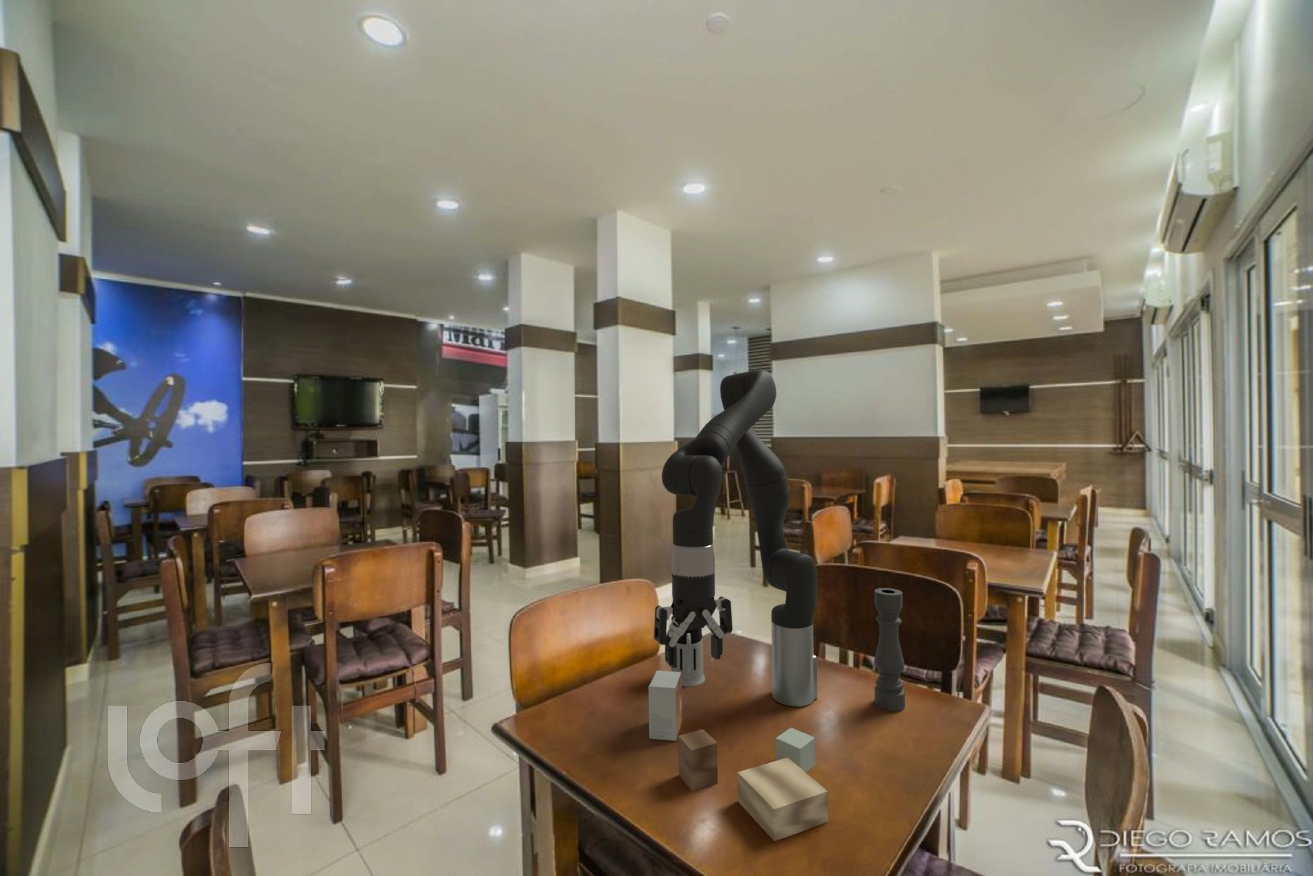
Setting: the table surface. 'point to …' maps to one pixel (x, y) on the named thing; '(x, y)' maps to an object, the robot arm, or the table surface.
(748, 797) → the oak block
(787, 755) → the grey cube
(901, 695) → the candle holder
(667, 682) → the small box
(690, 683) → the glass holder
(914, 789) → the table surface
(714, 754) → the walnut block
